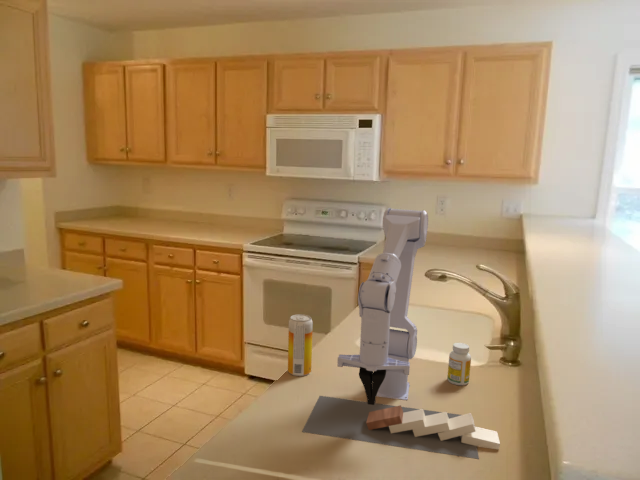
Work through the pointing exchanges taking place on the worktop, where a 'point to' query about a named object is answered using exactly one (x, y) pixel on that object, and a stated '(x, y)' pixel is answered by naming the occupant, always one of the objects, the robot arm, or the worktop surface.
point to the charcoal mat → (351, 424)
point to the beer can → (300, 345)
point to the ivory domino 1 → (410, 421)
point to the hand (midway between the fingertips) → (371, 402)
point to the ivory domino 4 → (482, 438)
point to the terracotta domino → (385, 417)
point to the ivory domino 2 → (433, 424)
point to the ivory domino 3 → (458, 427)
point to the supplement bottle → (459, 364)
